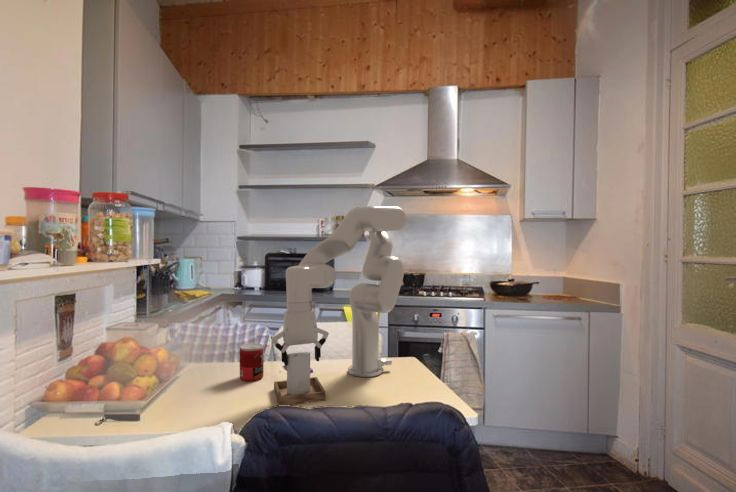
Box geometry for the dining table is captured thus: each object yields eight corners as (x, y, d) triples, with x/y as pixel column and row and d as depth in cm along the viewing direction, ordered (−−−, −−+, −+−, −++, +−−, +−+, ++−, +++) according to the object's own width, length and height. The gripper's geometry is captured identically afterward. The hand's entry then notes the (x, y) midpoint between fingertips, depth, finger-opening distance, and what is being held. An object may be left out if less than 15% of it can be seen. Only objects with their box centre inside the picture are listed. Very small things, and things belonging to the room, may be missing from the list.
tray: (316, 384, 130) (316, 376, 130) (325, 400, 117) (325, 391, 117) (274, 389, 126) (274, 381, 126) (278, 406, 113) (278, 397, 113)
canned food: (257, 382, 132) (257, 349, 132) (235, 381, 133) (235, 348, 133) (267, 375, 139) (267, 343, 139) (246, 373, 141) (246, 342, 141)
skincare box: (301, 388, 126) (301, 349, 125) (311, 391, 123) (311, 352, 123) (285, 393, 121) (285, 353, 121) (295, 397, 118) (295, 356, 118)
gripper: (324, 302, 128) (326, 355, 129) (269, 307, 122) (271, 362, 123) (330, 306, 121) (331, 362, 121) (271, 311, 115) (273, 370, 116)
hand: (301, 362), depth 122 cm, fingers open, 9 cm apart
